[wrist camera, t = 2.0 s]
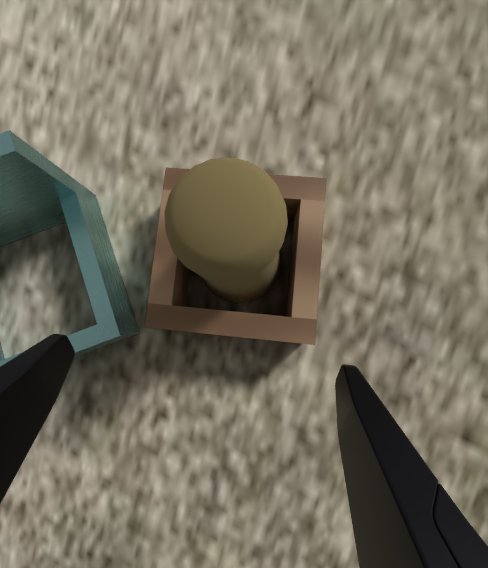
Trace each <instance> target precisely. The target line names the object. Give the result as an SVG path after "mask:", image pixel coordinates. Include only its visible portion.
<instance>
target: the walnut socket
mask: <svg viewBox="0 0 488 568" xmlns="http://www.w3.org/2000/svg"><path fill="white" fill-rule="evenodd" d="M189 170H190V169H179V168H166V170H165V178H164V185H163V193H162V200H161V208H160V215H159V222H158V230H157V237H156V245H155V252H154V260H153V267H152V274H151V282H150V289H149V297H148V304H147V312H146V319H145V326H144V327H146V328H155V329H165V330H175V331H185V332H194V333H204V334H214V335H223V336H233V337H243V338H253V339H262V340H272V341H282V342H292V343H301V344H311V345H315V339H316V324H317V310H318V295H319V281H320V266H321V252H322V237H323V223H324V209H325V194H326V180H327V178H314V177H299V176H284V175H269V174H268V175H269V176H270V177H271V178H272V179H273V180H274V181H275V183H276V184H277V186H278V188H279V190H280V193H281V195H282V197H283V199H284V201H285V204H286V210H287V218H294V230H293V242H292V254H291V267H290V279H289V292H288V304H287V316H275V315H265V314H255V313H245V312H234V311H224V310H214V309H203V308H193V307H186V299H187V291H188V282H189V274H190V269H189V268H187V267H185V266H184V264H183V263H182V262H181V261H180V260H179V258H178V257H177V256H176V255H175V254H174V252H173V251H172V248H171V245H170V243H169V240H168V238H167V235H166V231H165V216H164V211H165V207H166V204H167V200H168V197H169V194H170V192H171V191H172V189H173V187H174V186H175V184H176V183H177V181H178V180H179V178H181V177H182V176H183V175H184V174H185V173H187V172H188V171H189Z"/></svg>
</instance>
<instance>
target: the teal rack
mask: <svg viewBox="0 0 488 568" xmlns="http://www.w3.org/2000/svg"><path fill="white" fill-rule="evenodd" d="M64 222H67V226H68V229H69V232H70V236H71V239H72V242H73V246H74V249H75V252H76V256H77V259H78V262H79V266H80V269H81V272H82V276H83V279H84V282H85V286H86V289H87V292H88V296H89V299H90V302H91V306H92V309H93V312H94V316H95V319H96V322H97V325H94V326H91V327H89V328H86V329H83V330H81V331H78V332H75V333H73V334H70V335H67V337H68V338H69V340H70V342H71V344H72V346H73V348H74V350H75V356H74V358H75V357H78V356H80V355H83V354H86V353H88V352H91V351H94V350H96V349H99V348H102V347H104V346H107V345H110V344H112V343H115V342H118V341H120V340H123V339H126V338H128V337H131V336H134V335H136V334H139V331H138V327H137V324H136V321H135V318H134V315H133V312H132V309H131V305H130V302H129V299H128V296H127V293H126V290H125V287H124V283H123V280H122V277H121V274H120V271H119V268H118V265H117V261H116V258H115V255H114V252H113V249H112V246H111V243H110V239H109V236H108V233H107V230H106V227H105V224H104V221H103V217H102V214H101V211H100V208H99V205H98V202H97V199H96V195H95V194H93V193H92V192H91V191H89V190H88V189H87V188H85V187H84V186H83V185H81V184H80V183H79V182H77V181H76V180H75V179H73V178H72V177H71V176H69V175H68V174H67V173H65V172H64V171H63V170H61V169H60V168H59V167H57V166H56V165H55V164H53V163H52V162H51V161H49V160H48V159H47V158H45V157H44V156H43V155H41V154H40V153H39V152H37V151H36V150H35V149H33V148H32V147H31V146H30V145H28V144H27V143H26V142H24V141H23V140H22V139H20V138H19V137H18V136H16V135H15V134H14V133H12V132H11V131H10V130H9V131H6V132H3V133H1V134H0V247H1V246H3V245H6V244H9V243H11V242H14V241H17V240H19V239H22V238H24V237H27V236H30V235H32V234H35V233H38V232H40V231H43V230H45V229H48V228H51V227H53V226H56V225H59V224H61V223H64ZM22 353H23V352H22ZM20 354H21V353H20ZM20 354H17V355H14V356H12V357H9V358H6V359H4V355H3V351H2V347H1V343H0V366H2V365H3V364H5V363H7V362H8V361H10V360H12V359H13V358H15V357H16V356H18V355H20Z"/></svg>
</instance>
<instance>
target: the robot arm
mask: <svg viewBox="0 0 488 568" xmlns="http://www.w3.org/2000/svg"><path fill="white" fill-rule="evenodd" d="M74 356H75V350H74V348H73V346H72V344H71V342H70V340H69V338H68V337H67V336H66V335H61V334H53V335H50V336H49V337H47V338H45V339H44V340H42V341H41V342H39V343H37V344H36V345H34V346H32V347H31V348H29V349H28V350H26V351H24V352H23V353H21V354H20V355H18V356H16V357H15V358H13V359H12V360H10V361H8V362H7V363H5V364H3V365H2V366H0V503H1V501H2V500H3V498H4V496H5V494H6V492H7V490H8V488H9V487H10V485H11V483H12V481H13V479H14V477H15V476H16V474H17V472H18V470H19V468H20V466H21V464H22V463H23V461H24V459H25V457H26V455H27V453H28V452H29V450H30V448H31V446H32V444H33V442H34V440H35V439H36V437H37V435H38V433H39V431H40V429H41V428H42V426H43V424H44V422H45V420H46V418H47V416H48V415H49V413H50V411H51V409H52V407H53V405H54V403H55V401H56V399H57V397H58V395H59V393H60V390H61V388H62V385H63V383H64V381H65V378H66V376H67V373H68V371H69V369H70V366H71V364H72V361H73V359H74ZM335 389H336V409H337V428H338V438H339V445H340V451H341V457H342V463H343V469H344V476H345V482H346V488H347V494H348V500H349V506H350V512H351V518H352V524H353V530H354V536H355V543H356V549H357V555H358V561H359V567H360V568H488V546H487V545H486V544H485V542H484V541H483V540H482V539H481V537H480V536H479V535H478V534H477V532H476V531H475V530H474V529H473V527H472V526H471V525H470V524H469V522H468V521H467V519H466V518H465V517H464V515H463V514H462V513H461V511H460V510H459V509H458V507H457V506H456V505H455V503H454V502H453V501H452V499H451V498H450V496H449V495H448V494H447V492H446V491H445V490H444V488H443V487H442V485H441V484H438V480H437V478H436V477H435V476H434V474H433V473H432V471H431V470H430V469H429V467H428V466H427V464H426V463H425V462H424V460H423V459H422V457H421V456H420V455H419V453H418V452H417V450H416V449H415V448H414V446H413V445H412V444H411V442H410V441H409V439H408V438H407V437H406V435H405V434H404V432H403V431H402V430H401V428H400V427H399V425H398V424H397V423H396V421H395V420H394V418H393V417H392V416H391V414H390V413H389V411H388V410H387V409H386V407H385V406H384V404H383V403H382V402H381V400H380V399H379V397H378V396H377V395H376V393H375V392H374V390H373V389H372V388H371V386H370V385H369V383H368V382H367V381H366V379H365V378H364V376H363V375H362V374H361V372H360V371H359V369H358V368H357V367H356V366H354V365H345V364H344V365H342V366H341V368H340V370H339V373H338V376H337V378H336V383H335Z"/></svg>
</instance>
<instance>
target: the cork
mask: <svg viewBox="0 0 488 568" xmlns="http://www.w3.org/2000/svg"><path fill="white" fill-rule="evenodd" d="M164 216H165V231H166V235H167V238H168V240H169V243H170V245H171V248H172V251H173V252H174V254H175V255H176V256H177V257H178V258H179V260H180V261H181V262H182V263H183V264H184V266H185V267H187V268H189V269H190V270H192V271H193V272H195V273H197V274H198V275H200V276H202V277H203V279H204V281H205V284H206V285H207V286H208V287H209V288H210V290H211V291H212V292H213V293H214V294H215V295H217V296H219V297H220V298H222V299H223V300H226V301H230V302H234V303H246V302H252V301H254V300H256V299H259V298H261V297H263V296H264V295H265V294H266V293H267V292H269V291H270V290H271V289H272V288H273V286H274V284H275V283H276V281H277V279H278V277H279V273H280V269H281V257H280V251H279V250H280V248H281V247H282V245H283V242H284V238H285V233H286V229H287V225H288V220H287V210H286V204H285V201H284V199H283V197H282V195H281V193H280V190H279V188H278V186H277V184H276V183H275V181H274V180H273V179H272V178H271V177H270V176H269V175H268V174H267V173H266V172H265V171H264V170H263V169H261V168H259V167H257V166H256V165H254V164H252V163H250V162H248V161H245V160H240V159H234V158H219V159H210V160H208V161H206V162H203V163H201V164H198V165H196V166H194V167H193V168H191V169H190V170H189V171H188V172H187V173H185V174H184V175H183V176H182V177H181V178H179V180H178V181H177V183H176V184H175V186H174V187H173V189H172V191H171V192H170V194H169V197H168V200H167V204H166V207H165V211H164Z"/></svg>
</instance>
